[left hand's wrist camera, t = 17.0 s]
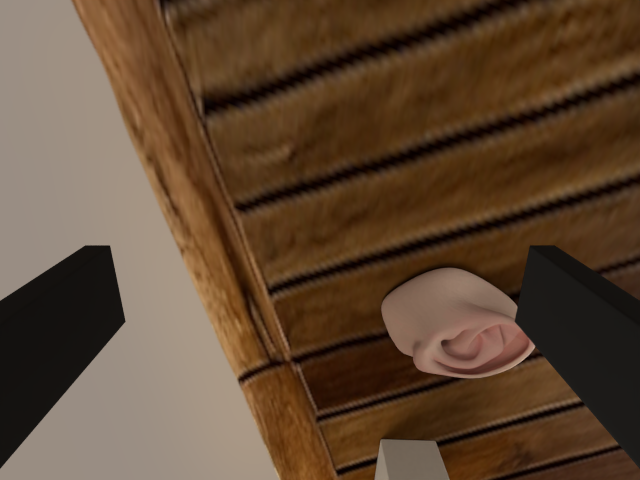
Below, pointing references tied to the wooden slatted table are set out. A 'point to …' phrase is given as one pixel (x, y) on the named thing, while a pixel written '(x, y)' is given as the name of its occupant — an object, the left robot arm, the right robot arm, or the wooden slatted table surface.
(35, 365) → the left robot arm
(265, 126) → the wooden slatted table surface
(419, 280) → the anatomical model
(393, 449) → the block
